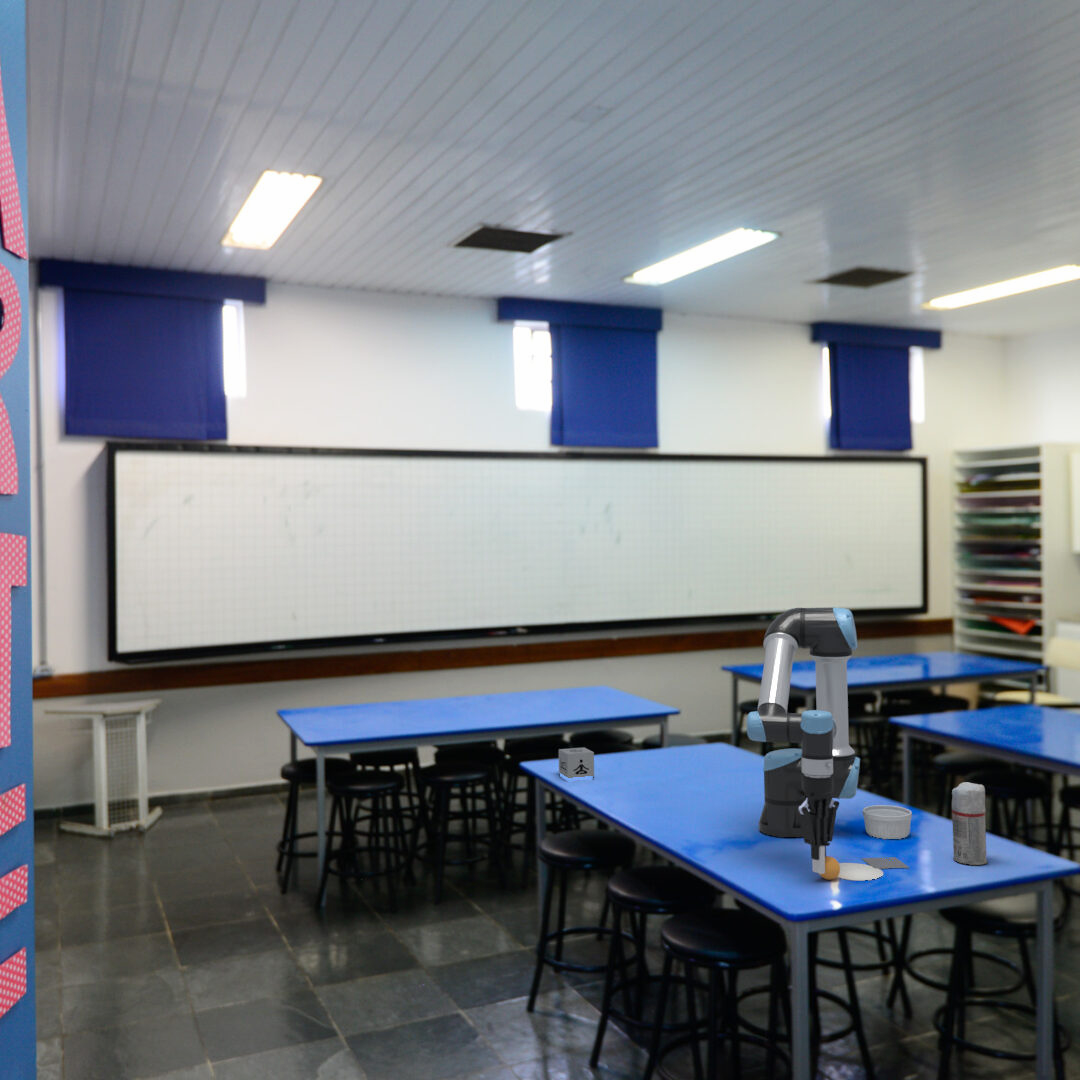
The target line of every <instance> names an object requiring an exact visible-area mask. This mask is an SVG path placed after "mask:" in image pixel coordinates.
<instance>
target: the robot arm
mask: <svg viewBox="0 0 1080 1080" xmlns="http://www.w3.org/2000/svg"><path fill="white" fill-rule="evenodd" d="M857 638H858V637H857V629H856V625H855V620H854V615H853V613H852V611H851V610H850V609H848V608H843V607H834V606H833V607H793V608H790V609H787V610H786V611H784V612H782V613H781V614H779V615H778V616H776V618H775V619H774V620H773V621H772V622H771V623H770V625H769V626H768V628H767V629H766V632H765V634H764V638H763V643H762V644H763V649H764V650H765V651H764V652H765V656H764V663H763V664H764V665H763V670H762V677H761V682H760V688H759V689H760V690H759V697H758V703H757V704H758V705H757V711H756V710H755V711H750V712H749V713H748V714H747V716H746V734H747V737H748V739H749V740H751V741H754V742H763V743H766V742H767V743H789V744H790V743H791V744H801V748H792V747H791V748H783V749H777V750H776V749H775V750H773V751H769V752H768V753H766V754H765V755H764V758H763V768H762V769H763V788H764V789H763V791H764V804H763V807H762V811H761V815H760V818H759V821H758V831H759V830H760V831H761V832H762V833H761V832H760V831H759V832H760V833H761V834H763V833H765V834H764V835H766V834H767V836H770V835H772V836H771V837H775V836H777V838H784V837H797V838H803V842H804V844H807V845H810V857H811V860H812V863H811V865H812V872H814V873H816V874H824V873H825V858H826V856H827V847H829V846H831V845H830V844H831V843H830V842H832V841H833V837H834V832H835V831H834V830H835V825H836V824H835V823H836V817H837V811H838V808H839V806H840V802H839V801H837V800H840V799H843V800H844V799H846V800H847V799H848V800H849V799H853V798H854V797H856V794H857V791H858V790H857V789H858V782H859V774H860V765H861V764H860V763H861V758H860V757H858V756H855V755H856V753H855V749H853V748H852V747H851V745H850V741H849V740H850V739H849V708H848V707H849V701H848V700H849V699H848V664H847V663H848V661H849V660H850V659H851V658H852V656H853V651H855V650H857V649H858V640H857ZM799 649H802V650H804V649H806V650H807V649H809V656H810V657H811V658H812V660H814V661H815V694H816V696H815V698H816V699H815V701H816V709H810V710H804V711H803V712H802V713H792V712H788V705H789V698H790V697H789V696H790V690H791V689H790V688H791V681H792V679H791V678H792V671H793V664H794V663H793V661H794V656H795V655H796V654H797V652H798V650H799ZM834 799H837V800H834Z"/></svg>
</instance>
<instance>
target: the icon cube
mask: <svg viewBox="0 0 1080 1080" xmlns="http://www.w3.org/2000/svg"><path fill="white" fill-rule="evenodd" d="M594 754H595V752H594V751H592V750H590V749H588V748H586V747H572V748H562V749H561V748H559V749H558V773H559V772H560V773H561V774H563V775H564V776H566V777H568V778H573V777H585V776H594V777H595V755H594Z"/></svg>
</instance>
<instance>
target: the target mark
mask: <svg viewBox="0 0 1080 1080" xmlns="http://www.w3.org/2000/svg"><path fill="white" fill-rule="evenodd" d="M838 863H839V865H840V873H839V875H838V876H837V877H836V878H837V879H840V878H841V879H840V880H847V881H857V882H858V881H859V882H860V881H861V882H862V881H863V882H864V881H865V880H868V881H873V880H872V879H875V880H878V879H877V878H879V877H881V876H882V877H883V876H884V871H883V870H882V869H878V868H876V867H872V866H870V865H868V864H864V863H857V862H856V863H855V862H838ZM874 868H875V869H874ZM882 877H881V878H882ZM879 879H880V878H879Z"/></svg>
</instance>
